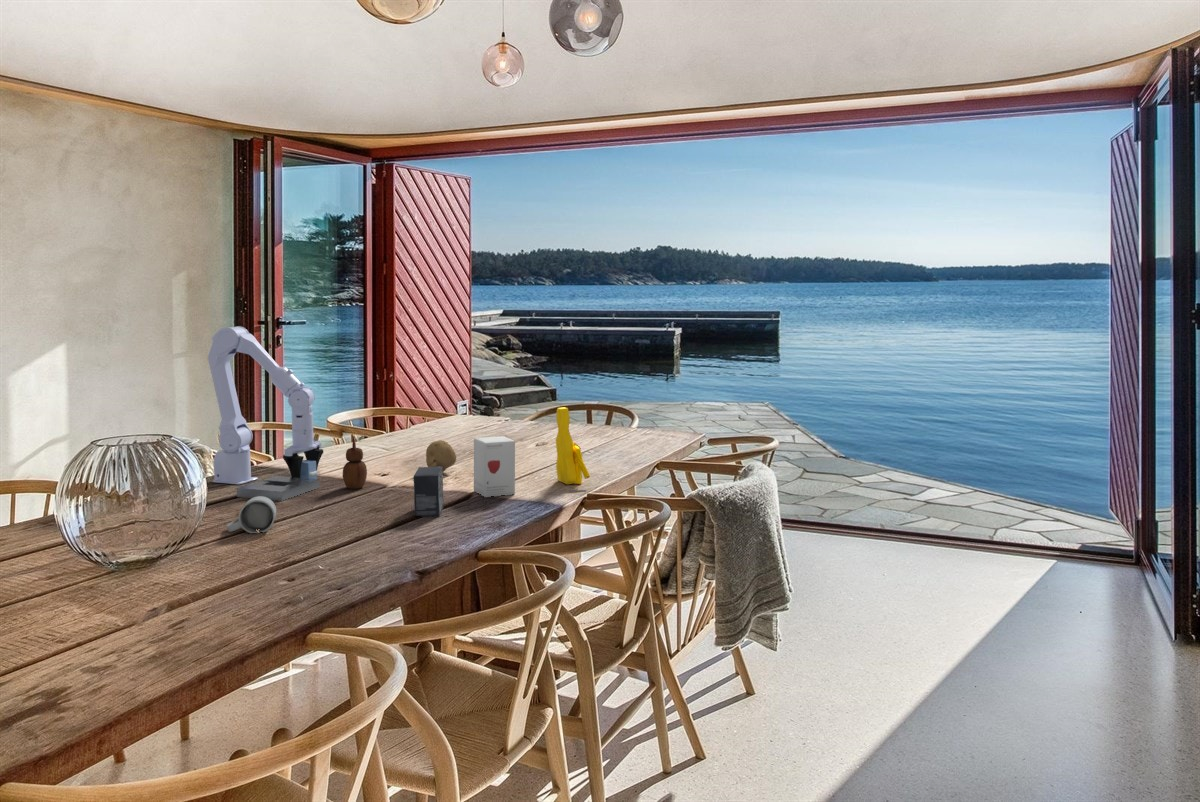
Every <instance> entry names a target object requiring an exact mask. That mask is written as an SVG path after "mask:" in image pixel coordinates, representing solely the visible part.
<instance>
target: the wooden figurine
mask: <svg viewBox="0 0 1200 802" xmlns="http://www.w3.org/2000/svg"><path fill="white" fill-rule="evenodd" d="M345 459H346V461H347V462H346V463H345V464H344V466H343V467H342V479H343V482H344V485H345V487H346V488H348V489H351V490H358V489H362V488H364V486H365V485H366V480H367V478H368V477H367V475H368V470H367V469H368V468H367V465H366V463H365V462H364V461H363V459H364V451H363V449H362V448H360V447H357V446H356V439H355V436H354V435H353V436H352V446H351V447H349V448H348V449H347V450H346V452H345Z"/></svg>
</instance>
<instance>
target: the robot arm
mask: <svg viewBox="0 0 1200 802" xmlns="http://www.w3.org/2000/svg"><path fill="white" fill-rule="evenodd" d="M211 338H212V340H211V341H212V343H211V347H210V349H209V353H208V355H207V358H208V359H207V361H208V365H209V369H210V374H211V377H212V382H213V387H214V391H215V395H216V399H217V404H218V408H219V413H220V418H221V420H220V423H219V426H218V429H219V437H218V443H219V446H220V448H221V449H220V450H218V451H217V452H216V453H215V455H214V458H213V471H214V472H213V473H214V477H213V478H214V479H213V480H212V482H213V483H217V484H218V483H220V484H230V485H243V484H246V483H250V482H252V481H256V480H258V479H259V478H258V476H252V470H251V469H252V467H251V447H250V444H251V443H252V441H253V431H252V430H251V428H250V427H249V426H248V424H247V420H246V418H244V416H243V415H242V412H241V407H240V403H239V398H238V394H237V390H236V384H235V379H234V376H233V372H232V367H231V360H232V359H233V358H234V356H235V355H236V354H237V353H241V354H246V355H249V356H250V357H251V358H252V359H253V360H255V361H256V363H257V364H259V366H261V367H262V368H263V369H264V370H265V371H266V372H267V373H269V375H270V379H269V380H270V382H271V383H272V384H273V385H274V386H275V387H276V388H277V389H278V390H279V391H280V393H282V394H283V396H284V397H286V398H287V403H288V405H289V406H290V408H291V428H292V429H291V434H292V435H291V436H292V438H291V439H292V445H290V446H289V447H286V448H284V449H283V450H284V452H283V453H284V454H283V455H282V459H283V460H284V462H285V463H286V465H287V467H288V470H289V471H290V473H289V474H290V477H295V478H300V475H301V464H302V460H304V457H305V460H311V461H316V471H318V467H319V463H320V460H321V457H322V456H323V454H324V449H322V441H320V440H319V441H318V440H314V437H315V435H314V413H313V404H314V402H315V400H316V397H315V395H316V394H315V392H314V391H313V390H312V388H311V387H309V386H306V384H305V383H304V382H301V381H300V380H299V379H298V378H297V376H295V375H294V374H293V373H294V370H293V369H292V368H290V369H289V368H288V367H286V366H280V365H279V364H278V363H277V362H276V361H275V360H274V359H273V357H272V356H271V355H270V354H269V353H268V352H267V351H266V349H265V348H264V347H263V345H261V343H260V342H259V341H258V340H257V339H256V337H255V336H254V335H253V334H252V333H250V332H249V330H248V329H246V327H243V326H242V325H241V326H239V325H237V326H232V327H224V326H223V327H221V328H220V329H218V330H217V331H216V333H214V335H213V336H212V337H211ZM301 453H304V456H303V455H299V454H301Z"/></svg>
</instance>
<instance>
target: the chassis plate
mask: <svg viewBox="0 0 1200 802" xmlns="http://www.w3.org/2000/svg"><path fill="white" fill-rule="evenodd" d="M317 488H318V489H320V480H319V479H307V478H295V477H291V476H280V475H275V476H271V477H268V478H265V479H262V481H260V480H259V481H255V482H251V483H248V484H245V485H241V486H238V487H236V497H237V498H242V497H244V498H243V499H252V498H254V497H258V496H263V497H267V498H269V499H270V500H271V501H275V500H278V501H279V502H283V500H284V501H286V500H285V499H287V500H289V499H288V498H290V499H292V498H294V496H295V497H298V496H300V494H301V495H304V494H306V493H305V492H307V493H309V492H308V491H310V492H312V491H311V490H313V491H315V490H314V489H316V490H318V489H317ZM303 493H304V494H303ZM297 495H298V496H297ZM291 497H292V498H291Z"/></svg>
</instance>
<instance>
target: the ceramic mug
mask: <svg viewBox="0 0 1200 802" xmlns="http://www.w3.org/2000/svg"><path fill="white" fill-rule="evenodd" d="M276 516H277V507H276V505H275V503H274V500H270V499H269V498H267V497H263V496H258V497H254V498H249V500H247V501H246V503H245V504H244V505H243V506H242V507H241V509H240V511H239V513H238V518H236V519H235V520H233V521H231V522H229V523H227V525H226V529H227V531H228V532H229V533H231V532H234V531H237V530H240V529H241V528H242V529H243V530H244V531H245V532H247V533H250V534H252V533H258V532H257V531H256V529H257V530H258V529H260V530H259V532H263V533H265V532H267V531H269V530H270V528H272V527H273V525H274V523H275V519H276Z"/></svg>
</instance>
